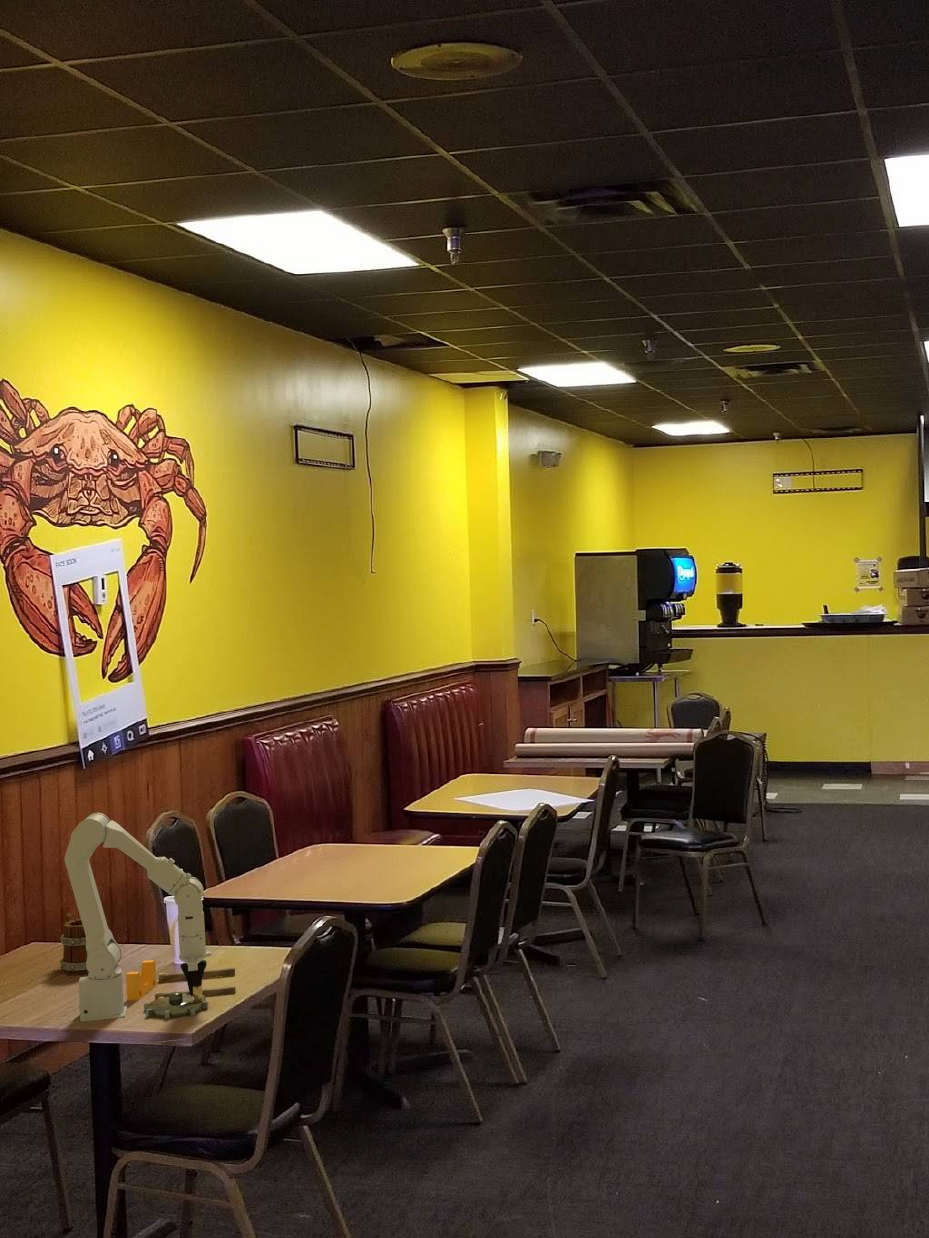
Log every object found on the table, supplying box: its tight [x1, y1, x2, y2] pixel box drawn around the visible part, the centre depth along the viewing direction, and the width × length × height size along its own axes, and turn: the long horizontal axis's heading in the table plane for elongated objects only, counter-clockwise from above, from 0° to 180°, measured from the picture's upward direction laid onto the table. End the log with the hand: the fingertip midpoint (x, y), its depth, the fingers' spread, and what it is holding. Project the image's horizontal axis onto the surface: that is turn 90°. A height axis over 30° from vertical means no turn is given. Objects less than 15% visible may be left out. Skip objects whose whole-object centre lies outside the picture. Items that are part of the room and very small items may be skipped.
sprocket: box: [143, 985, 210, 1020], centre depth 318 cm, size 14×14×5 cm
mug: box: [59, 912, 89, 976], centre depth 360 cm, size 12×14×15 cm
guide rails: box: [154, 967, 237, 1000], centre depth 336 cm, size 18×18×2 cm
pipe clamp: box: [125, 959, 157, 1001], centre depth 333 cm, size 12×4×6 cm, turn 172°
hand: (195, 995), depth 319 cm, fingers closed, pressing on sprocket
